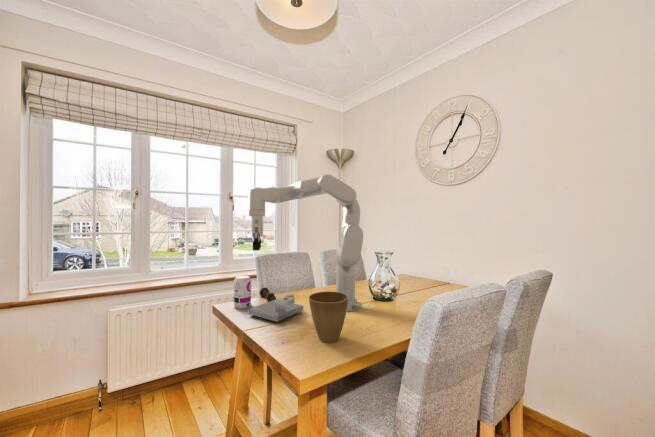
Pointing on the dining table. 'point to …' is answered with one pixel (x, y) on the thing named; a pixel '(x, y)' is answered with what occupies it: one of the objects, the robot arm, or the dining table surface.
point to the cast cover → (285, 304)
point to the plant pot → (328, 314)
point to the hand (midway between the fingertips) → (256, 248)
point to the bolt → (267, 294)
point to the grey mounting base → (273, 310)
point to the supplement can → (242, 292)
